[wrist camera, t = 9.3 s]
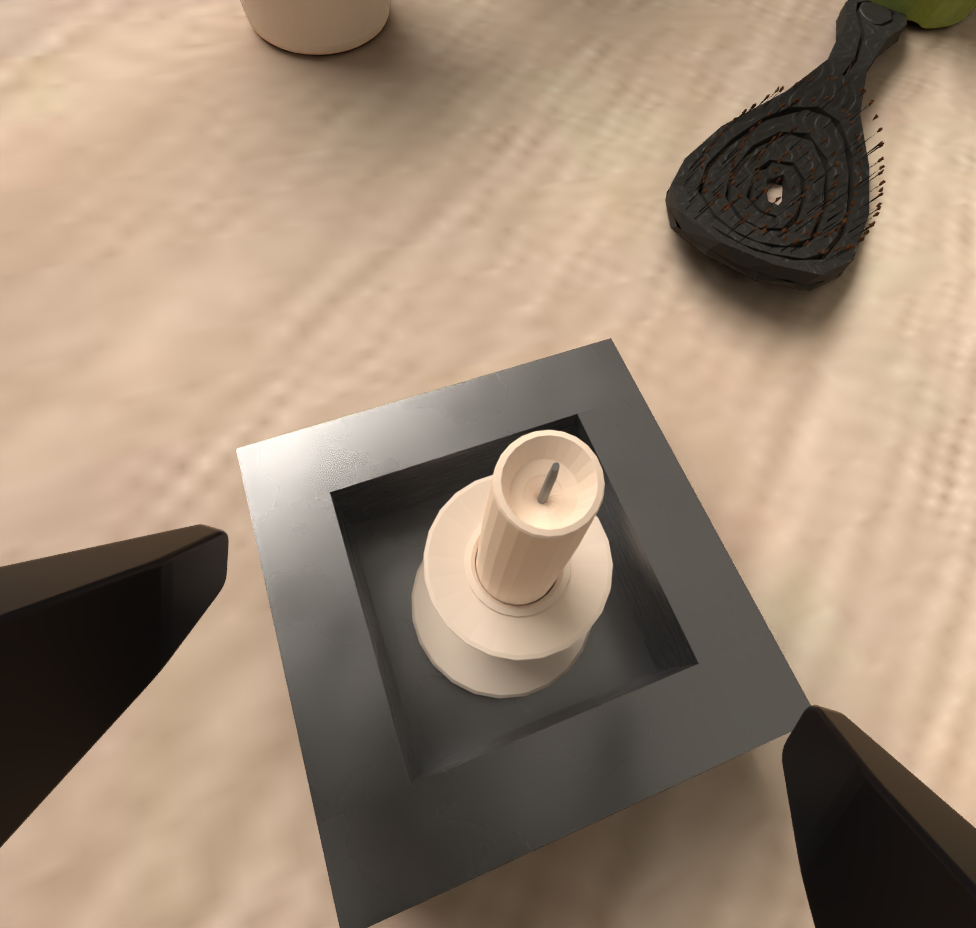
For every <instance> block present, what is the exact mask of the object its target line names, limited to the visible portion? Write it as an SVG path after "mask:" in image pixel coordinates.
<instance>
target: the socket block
mask: <svg viewBox="0 0 976 928" xmlns="http://www.w3.org/2000/svg"><path fill="white" fill-rule="evenodd" d="M543 430H555V431H562V432H565V433H568V434H570V435H573V436H575V437H577V438H578V439H580V440H581V441H582V442H584V443H585V444H586V445H588V446H589V448H590V449H591V450H592V451H593V453H594V454H595V455H596V456H597V458H598V460H599V463H600V465H601V467H602V470H603V475H604V482H605V489H604V497H603V501H602V503H601V506H600V508H599V510H598V513H597V514H596V516H597V517H598V519H599V521H600V523H601V525H602V527H603V530H604V532H605V534H606V536H607V538H608V540H609V546H610V552H611V557H612V563H613V568H612V580H611V590H610V592H609V595H608V598H607V600H606V603H605V606H604V609H603V611H602V613H601V614H600V616H599V617H598V619H597V620H596V621H595V623H594V624H593V625H592V627H591V630H590V633H589V636H588V638H587V641H586V644H585V646H584V649H583V651H582V653H581V654H580V656H579V657H578V658H577V660H576V661H575V662H574V664H573V665H572V667H571V668H570V669H569V671H568V672H567V673H565V674H564V675H563V676H561V677H560V678H559V679H558V680H556V681H555V682H554V683H553V684H551V685H550V686H549V687H546V688H544V689H542V690H539V691H537V692H534V693H532V694H529V695H527V696H521V697H511V698H501V699H499V698H493V697H488V696H483V695H477V694H474V693H472V692H470V691H468V690H466V689H464V688H462V687H460V686H458V685H456V684H454V683H452V682H451V681H450V680H449V679H448V678H447V677H445V676H444V675H443V674H442V673H441V672H440V671H439V670H438V669H437V668H436V667H435V666H434V665H433V664H432V662H431V661H430V659H429V658H428V656H427V654H426V653H425V651H424V650H423V648H422V646H421V645H420V643H419V640H418V636H417V633H416V630H415V627H414V623H413V620H412V591H413V586H414V582H415V577H416V573H417V570H418V568H419V566H420V564H421V563H422V561H423V559H424V550H425V546H426V541H427V537H428V533H429V530H430V528H431V526H432V524H433V522H434V520H435V519H436V517H437V515H438V513H439V511H440V510H441V508H442V507H443V506H444V505H445V504H446V503H447V502H448V501H449V500H450V499H451V498H452V497H453V496H454V494H455V493H457V492H458V491H460V490H461V489H463V488H465V487H466V486H468V485H469V484H471V483H472V482H474V481H476V480H479V479H482V478H485V477H488V476H491V475H493V473H494V469H495V467H496V465H497V462H498V460H499V458H500V456H501V454H502V453H503V452H504V451H505V450H506V448H507V447H508V446H509V445H510V444H511V443H513V442H514V441H516V440H517V439H518V438H520V437H521V436H524V435H526V434H529V433H532V432H535V431H543ZM236 451H237V456H238V460H239V465H240V469H241V474H242V479H243V483H244V488H245V492H246V497H247V502H248V506H249V511H250V516H251V520H252V525H253V529H254V534H255V539H256V543H257V548H258V552H259V557H260V562H261V566H262V571H263V576H264V580H265V585H266V589H267V594H268V599H269V603H270V608H271V612H272V617H273V622H274V626H275V631H276V636H277V640H278V645H279V649H280V654H281V659H282V663H283V668H284V672H285V677H286V682H287V686H288V691H289V696H290V700H291V705H292V709H293V714H294V719H295V723H296V728H297V732H298V737H299V742H300V746H301V751H302V756H303V760H304V765H305V769H306V774H307V779H308V783H309V788H310V792H311V797H312V802H313V806H314V811H315V816H316V820H317V825H318V829H319V834H320V839H321V843H322V848H323V852H324V857H325V862H326V866H327V871H328V876H329V880H330V885H331V889H332V894H333V899H334V903H335V908H336V912H337V917H338V922H339V926H340V928H367V927H370V926H372V925H374V924H376V923H378V922H380V921H383V920H385V919H387V918H389V917H391V916H393V915H396V914H398V913H400V912H402V911H404V910H406V909H408V908H411V907H413V906H415V905H417V904H419V903H421V902H424V901H426V900H428V899H430V898H432V897H434V896H437V895H439V894H441V893H443V892H445V891H447V890H450V889H452V888H454V887H456V886H458V885H460V884H462V883H465V882H467V881H469V880H471V879H473V878H475V877H478V876H480V875H482V874H484V873H486V872H488V871H491V870H493V869H495V868H497V867H499V866H501V865H504V864H506V863H508V862H510V861H512V860H514V859H517V858H519V857H521V856H523V855H525V854H527V853H529V852H532V851H534V850H536V849H538V848H540V847H542V846H545V845H547V844H549V843H551V842H553V841H555V840H558V839H560V838H562V837H564V836H566V835H568V834H571V833H573V832H575V831H577V830H579V829H581V828H584V827H586V826H588V825H590V824H592V823H594V822H596V821H599V820H601V819H603V818H605V817H607V816H609V815H612V814H614V813H616V812H618V811H620V810H622V809H625V808H627V807H629V806H631V805H633V804H635V803H638V802H640V801H642V800H644V799H646V798H648V797H651V796H653V795H655V794H657V793H659V792H661V791H663V790H666V789H668V788H670V787H672V786H674V785H676V784H679V783H681V782H683V781H685V780H687V779H689V778H692V777H694V776H696V775H698V774H700V773H702V772H705V771H707V770H709V769H711V768H713V767H715V766H717V765H720V764H722V763H724V762H726V761H728V760H730V759H733V758H735V757H737V756H739V755H741V754H743V753H746V752H748V751H750V750H752V749H754V748H756V747H759V746H761V745H763V744H765V743H767V742H769V741H772V740H774V739H776V738H778V737H780V736H782V735H784V734H787V733H789V732H791V731H793V729H794V727H795V725H796V724H797V722H798V720H799V718H800V717H801V715H802V713H803V712H804V710H805V709H806V708H808V707H809V706H811V705H810V703H809V701H808V700H807V698H806V696H805V694H804V692H803V690H802V689H801V687H800V685H799V683H798V681H797V679H796V678H795V676H794V674H793V672H792V670H791V668H790V666H789V665H788V663H787V661H786V659H785V657H784V655H783V654H782V652H781V650H780V648H779V646H778V644H777V643H776V641H775V639H774V637H773V635H772V633H771V632H770V630H769V628H768V626H767V624H766V622H765V621H764V619H763V617H762V615H761V613H760V611H759V609H758V608H757V606H756V604H755V602H754V600H753V598H752V597H751V595H750V593H749V591H748V589H747V587H746V586H745V584H744V582H743V580H742V578H741V576H740V575H739V573H738V571H737V569H736V567H735V565H734V564H733V562H732V560H731V558H730V556H729V554H728V552H727V551H726V549H725V547H724V545H723V543H722V541H721V540H720V538H719V536H718V534H717V532H716V530H715V529H714V527H713V525H712V523H711V521H710V519H709V518H708V516H707V514H706V512H705V510H704V508H703V507H702V505H701V503H700V501H699V499H698V497H697V495H696V494H695V492H694V490H693V488H692V486H691V484H690V483H689V481H688V479H687V477H686V475H685V473H684V472H683V470H682V468H681V466H680V464H679V462H678V461H677V459H676V457H675V455H674V453H673V451H672V450H671V448H670V446H669V444H668V442H667V440H666V438H665V437H664V435H663V433H662V431H661V429H660V427H659V426H658V424H657V422H656V420H655V418H654V416H653V415H652V413H651V411H650V409H649V407H648V405H647V404H646V402H645V400H644V398H643V396H642V394H641V393H640V391H639V389H638V387H637V385H636V383H635V381H634V380H633V378H632V376H631V374H630V372H629V370H628V369H627V367H626V365H625V363H624V361H623V359H622V358H621V356H620V354H619V352H618V350H617V348H616V347H615V345H614V343H613V341H612V339H611V338H610V339H607V340H603V341H600V342H597V343H593V344H590V345H587V346H583V347H580V348H576V349H573V350H570V351H566V352H563V353H559V354H556V355H553V356H549V357H546V358H542V359H539V360H536V361H532V362H529V363H525V364H522V365H519V366H515V367H512V368H509V369H505V370H502V371H498V372H495V373H492V374H488V375H485V376H481V377H478V378H475V379H471V380H468V381H464V382H461V383H458V384H454V385H451V386H447V387H444V388H441V389H437V390H434V391H431V392H427V393H424V394H420V395H417V396H414V397H410V398H407V399H403V400H400V401H397V402H393V403H390V404H386V405H383V406H380V407H376V408H373V409H369V410H366V411H363V412H359V413H356V414H353V415H349V416H346V417H342V418H339V419H336V420H332V421H329V422H325V423H322V424H319V425H315V426H312V427H308V428H305V429H302V430H298V431H295V432H291V433H288V434H285V435H281V436H278V437H275V438H271V439H268V440H264V441H261V442H258V443H254V444H251V445H247V446H244V447H241V448H237V449H236Z"/></svg>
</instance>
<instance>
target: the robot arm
mask: <svg viewBox="0 0 976 928" xmlns="http://www.w3.org/2000/svg"><path fill="white" fill-rule="evenodd" d="M227 559H228V535H227V534H226V532H225V531H223V530H220V529H217V528H213V527H210V526H207V525H201V524H199V525H194V526H189V527H185V528H180V529H175V530H171V531H166V532H161V533H157V534H152V535H147V536H143V537H138V538H133V539H128V540H124V541H119V542H114V543H110V544H105V545H100V546H96V547H91V548H86V549H82V550H77V551H72V552H68V553H63V554H58V555H54V556H49V557H44V558H40V559H35V560H30V561H26V562H21V563H16V564H12V565H7V566H2V567H0V848H1V846H2V845H3V844H4V843H5V842H6V841H7V840H8V839H9V838H10V837H11V835H12V834H13V833H14V832H15V831H16V830H17V829H18V828H19V827H20V826H21V824H22V823H23V822H24V821H25V820H26V819H27V818H28V817H29V816H30V815H31V813H32V812H33V811H34V810H35V809H36V808H37V807H38V806H39V805H40V804H41V802H42V801H43V800H44V799H45V798H46V797H47V796H48V795H49V794H50V793H51V792H52V790H53V789H54V788H55V787H56V786H57V785H58V784H59V783H60V782H61V781H62V779H63V778H64V777H65V776H66V775H67V774H68V773H69V772H70V771H71V770H72V768H73V767H74V766H75V765H76V764H77V763H78V762H79V761H80V760H81V759H82V757H83V756H84V755H85V754H86V753H87V752H88V751H89V750H90V749H91V748H92V746H93V745H94V744H95V743H96V742H97V741H98V740H99V739H100V738H101V737H102V735H103V734H104V733H105V732H106V731H107V730H108V729H109V728H110V727H111V726H112V724H113V723H114V722H115V721H116V720H117V719H118V718H119V717H120V716H121V715H122V713H123V712H124V711H125V710H126V709H127V708H128V707H129V706H130V705H131V704H132V702H133V701H134V700H135V699H136V698H137V697H138V696H139V695H140V694H141V693H142V691H143V690H144V689H145V688H146V687H147V686H148V685H149V684H150V683H151V681H152V680H153V679H154V678H155V677H156V676H157V675H158V673H159V672H160V671H161V670H162V669H163V667H164V666H165V665H166V664H167V662H168V661H169V660H170V658H171V657H172V656H173V654H174V653H175V652H176V650H177V649H178V648H179V646H180V645H181V644H182V642H183V641H184V640H185V638H186V637H187V636H188V634H189V633H190V632H191V630H192V629H193V628H194V626H195V625H196V623H197V622H198V621H199V619H200V618H201V617H202V615H203V614H204V613H205V611H206V610H207V609H208V607H209V606H210V605H211V603H212V602H213V601H214V599H215V598H216V596H217V595H218V594H219V592H220V591H221V589H222V587H223V585H224V583H225V580H226V575H227ZM782 763H783V770H784V776H785V782H786V788H787V794H788V800H789V806H790V812H791V818H792V824H793V830H794V836H795V842H796V848H797V854H798V859H799V864H800V869H801V874H802V878H803V882H804V886H805V891H806V895H807V899H808V902H809V906H810V910H811V914H812V917H813V921H814V925H815V928H976V828H975V827H974V826H972V825H971V824H970V823H969V822H968V821H967V820H965V819H964V818H963V817H962V816H961V815H960V814H958V813H957V812H956V811H955V810H954V809H953V808H952V807H950V806H949V805H948V804H947V803H946V802H945V801H943V800H942V799H941V798H940V797H939V796H938V795H936V794H935V793H934V792H933V791H932V790H931V789H930V788H928V787H927V786H926V785H925V784H924V783H923V782H921V781H920V780H919V779H918V778H917V777H916V776H914V775H913V774H912V773H911V772H910V771H909V770H908V769H906V768H905V767H904V766H903V765H902V764H901V763H899V762H898V761H897V760H896V759H895V758H894V757H892V756H891V755H890V754H889V753H888V752H887V751H886V750H884V749H883V748H882V747H881V746H880V745H879V744H877V743H876V742H875V741H874V740H873V739H872V738H870V737H869V736H868V735H867V734H866V733H865V732H863V731H862V730H861V729H860V728H859V727H858V726H857V725H855V724H854V723H853V722H852V721H851V720H850V719H848V718H847V717H846V716H845V715H843V714H842V713H840V712H837V711H834V710H830V709H827V708H823V707H820V706H817V705H813V706H809V707H808V708H806V709H805V710H804V712H803V713H802V715H801V717H800V718H799V720H798V722H797V724H796V725H795V727H794V729H793V731H792V732H791V734H790V736H789V737H788V739H787V741H786V743H785V745H784V748H783V753H782Z"/></svg>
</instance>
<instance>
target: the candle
mask: <svg viewBox="0 0 976 928" xmlns="http://www.w3.org/2000/svg"><path fill="white" fill-rule="evenodd" d="M604 489H605V482H604V475H603V470H602V467H601V465H600V463H599V460H598V458H597V456H596V455H595V454H594V453H593V451H592V450H591V449H590V448H589V446H588V445H586V444H585V443H584V442H582V441H581V440H580V439H578V438H577V437H575V436H573V435H570V434H568V433H565V432H562V431H555V430H543V431H535V432H532V433H529V434H526V435H524V436H521V437H520V438H518V439H517V440H516V441H514V442H513V443H511V444H510V445H509V446H508V447H507V448H506V450H505V451H504V452H503V453H502V454H501V456H500V458H499V460H498V462H497V465H496V467H495V469H494V473H493V475H491V476H488V477H485V478H482V479H479V480H476V481H474V482H472V483H471V484H469V485H468V486H466V487H465V488H463V489H461V490H460V491H458V492H457V493H455V494H454V496H453V497H452V498H451V499H450V500H449V501H448V502H447V503H446V504H445V505H444V506H443V507H442V508H441V510H440V511H439V513H438V515H437V517H436V519H435V520H434V522H433V524H432V526H431V528H430V530H429V533H428V537H427V541H426V546H425V550H424V559H423V561H422V563H421V564H420V566H419V568H418V570H417V573H416V577H415V582H414V586H413V591H412V620H413V623H414V627H415V630H416V633H417V636H418V640H419V643H420V645H421V646H422V648H423V650H424V651H425V653H426V654H427V656H428V658H429V659H430V661H431V662H432V664H433V665H434V666H435V667H436V668H437V669H438V670H439V671H440V672H441V673H442V674H443V675H444V676H445V677H447V678H448V679H449V680H450V681H451V682H452V683H454V684H456V685H458V686H460V687H462V688H464V689H466V690H468V691H470V692H472V693H474V694H477V695H483V696H488V697H493V698H499V699H501V698H511V697H521V696H527V695H529V694H532V693H534V692H537V691H539V690H542V689H544V688H546V687H549V686H550V685H551V684H553V683H554V682H555V681H556V680H558V679H559V678H560V677H561V676H563V675H564V674H565V673H567V672H568V671H569V669H570V668H571V667H572V665H573V664H574V662H575V661H576V660H577V658H578V657H579V656H580V654H581V653H582V651H583V649H584V646H585V644H586V641H587V638H588V636H589V633H590V630H591V627H592V625H593V624H594V623H595V621H596V620H597V619H598V617H599V616H600V614H601V613H602V611H603V609H604V606H605V603H606V600H607V598H608V595H609V592H610V590H611V580H612V568H613V563H612V557H611V552H610V546H609V540H608V538H607V536H606V534H605V532H604V530H603V527H602V525H601V523H600V521H599V519H598V517H597V516H596V514H597V513H598V510H599V508H600V506H601V503H602V501H603V497H604Z"/></svg>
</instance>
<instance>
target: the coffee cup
mask: <svg viewBox="0 0 976 928" xmlns="http://www.w3.org/2000/svg"><path fill="white" fill-rule="evenodd" d="M240 1H241V3H242V6H243V9H244V11H245V14H246V17H247V19H248V20H249V22H250V24H251V26H252V27H253V28H254V30H255V31H256V32H257V33H258V34H259V35H260V36H261V37H262V38H263V39H265V40H266V41H268V42H269V43H271V44H273V45H275V46H277V47H279V48H281V49H284V50H288V51H291V52H294V53H301V54H313V55H323V54H334V53H339V52H343V51H347V50H350V49H353V48H356V47H358V46H360V45H362V44H364V43H366V42H368V41H369V40H371V39H372V38H374V37H375V36H376V35H377V34H378V33H379V32H380V31H381V30H382V28H383V27H384V25H385V24H386V21H387V19H388V16H389V10H390V0H240Z"/></svg>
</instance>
